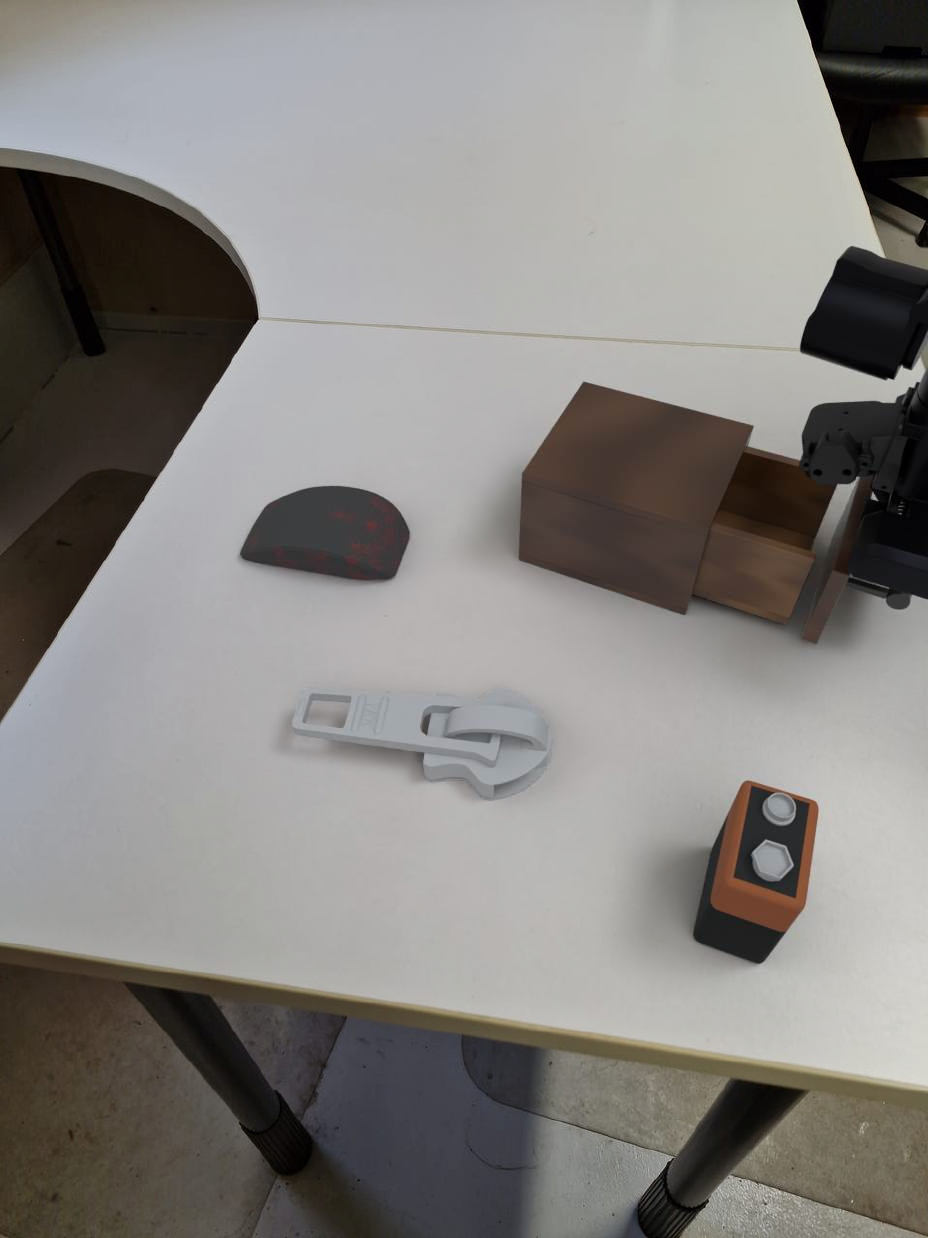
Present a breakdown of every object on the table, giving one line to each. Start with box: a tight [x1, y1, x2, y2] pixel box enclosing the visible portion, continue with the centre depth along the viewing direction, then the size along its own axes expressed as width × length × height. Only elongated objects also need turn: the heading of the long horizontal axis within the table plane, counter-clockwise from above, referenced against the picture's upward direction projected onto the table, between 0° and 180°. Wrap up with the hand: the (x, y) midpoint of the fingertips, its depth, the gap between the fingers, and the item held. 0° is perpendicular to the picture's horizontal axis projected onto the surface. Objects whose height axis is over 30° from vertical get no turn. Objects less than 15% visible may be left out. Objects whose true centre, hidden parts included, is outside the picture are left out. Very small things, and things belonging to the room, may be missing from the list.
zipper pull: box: [291, 686, 554, 801], centre depth 60 cm, size 8×18×4 cm, turn 82°
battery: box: [692, 780, 820, 965], centre depth 50 cm, size 4×7×10 cm, turn 159°
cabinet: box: [518, 381, 755, 616], centre depth 71 cm, size 15×13×10 cm
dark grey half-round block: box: [239, 485, 411, 580], centre depth 73 cm, size 8×14×4 cm, turn 77°
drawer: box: [692, 445, 913, 645], centre depth 67 cm, size 18×12×8 cm, turn 64°
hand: (877, 570), depth 65 cm, fingers closed, pressing on drawer
